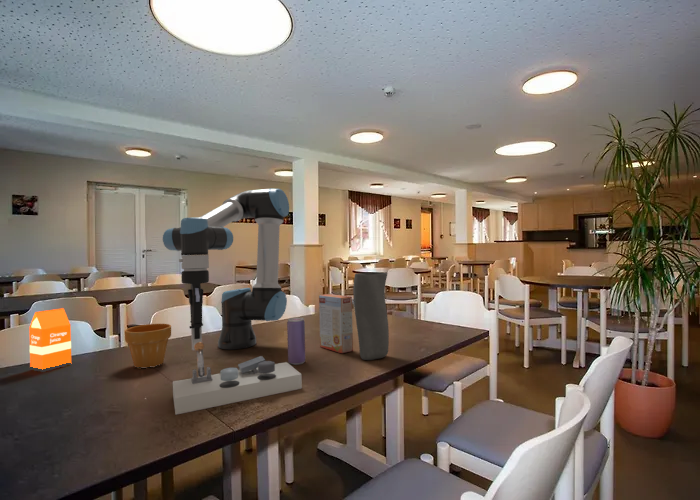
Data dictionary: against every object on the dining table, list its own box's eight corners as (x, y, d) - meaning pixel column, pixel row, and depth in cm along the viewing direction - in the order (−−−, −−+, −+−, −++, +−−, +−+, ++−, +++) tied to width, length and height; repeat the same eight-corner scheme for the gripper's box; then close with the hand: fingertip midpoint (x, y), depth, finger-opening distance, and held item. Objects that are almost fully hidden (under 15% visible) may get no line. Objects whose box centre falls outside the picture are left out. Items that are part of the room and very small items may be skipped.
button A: (256, 369, 103) (256, 362, 103) (272, 367, 105) (272, 360, 105) (260, 374, 99) (260, 367, 99) (276, 371, 101) (276, 364, 101)
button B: (219, 376, 98) (219, 369, 98) (236, 373, 100) (236, 366, 100) (221, 382, 94) (221, 374, 94) (239, 378, 96) (239, 371, 96)
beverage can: (302, 365, 124) (301, 320, 124) (285, 364, 125) (284, 320, 125) (307, 360, 130) (306, 317, 130) (291, 359, 131) (290, 317, 131)
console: (173, 396, 100) (172, 370, 100) (287, 374, 115) (286, 352, 115) (175, 414, 88) (174, 385, 88) (301, 388, 103) (301, 363, 103)
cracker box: (354, 351, 140) (352, 296, 140) (341, 354, 136) (340, 297, 136) (331, 344, 151) (330, 293, 151) (319, 347, 147) (318, 294, 147)
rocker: (238, 369, 107) (237, 364, 107) (262, 360, 110) (261, 355, 110) (242, 373, 103) (241, 368, 103) (266, 364, 106) (265, 359, 106)
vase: (364, 364, 123) (362, 274, 123) (349, 355, 134) (347, 273, 134) (396, 359, 128) (394, 273, 128) (379, 351, 139) (377, 271, 139)
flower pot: (178, 363, 129) (177, 326, 129) (133, 374, 118) (132, 334, 118) (163, 356, 138) (162, 321, 138) (119, 365, 128) (119, 328, 128)
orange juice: (71, 365, 130) (70, 308, 130) (42, 373, 122) (41, 312, 122) (59, 362, 133) (57, 307, 133) (29, 370, 125) (28, 311, 125)
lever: (196, 379, 100) (193, 344, 105) (206, 377, 102) (203, 343, 107) (196, 376, 98) (194, 341, 103) (207, 374, 100) (204, 340, 105)
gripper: (180, 269, 114) (181, 346, 114) (182, 271, 102) (184, 356, 102) (206, 268, 117) (207, 342, 117) (211, 270, 106) (213, 352, 106)
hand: (196, 349), depth 110 cm, fingers closed
